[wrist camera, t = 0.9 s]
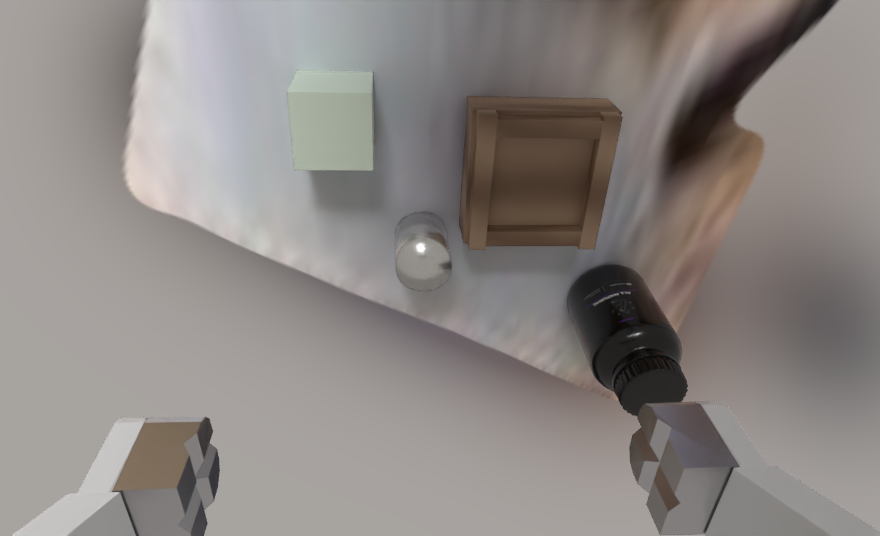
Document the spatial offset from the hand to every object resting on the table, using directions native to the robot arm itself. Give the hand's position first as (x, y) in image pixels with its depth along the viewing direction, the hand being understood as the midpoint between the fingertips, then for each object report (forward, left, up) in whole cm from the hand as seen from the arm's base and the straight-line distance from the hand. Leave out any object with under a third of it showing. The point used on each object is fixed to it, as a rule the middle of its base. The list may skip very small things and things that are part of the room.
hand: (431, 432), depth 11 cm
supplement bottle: (+20, +18, -33) cm, 43 cm away
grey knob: (+14, +2, -33) cm, 36 cm away
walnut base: (+8, +10, -33) cm, 35 cm away
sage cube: (+4, -4, -33) cm, 34 cm away
